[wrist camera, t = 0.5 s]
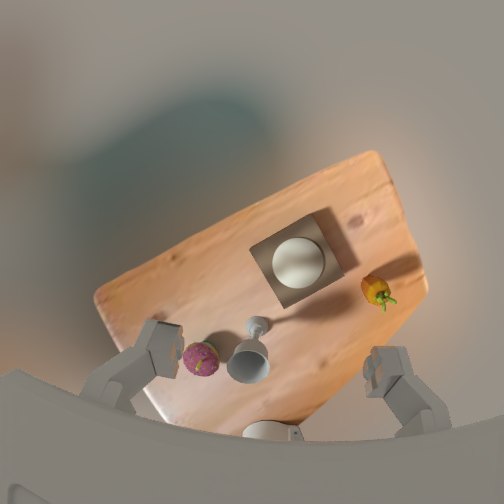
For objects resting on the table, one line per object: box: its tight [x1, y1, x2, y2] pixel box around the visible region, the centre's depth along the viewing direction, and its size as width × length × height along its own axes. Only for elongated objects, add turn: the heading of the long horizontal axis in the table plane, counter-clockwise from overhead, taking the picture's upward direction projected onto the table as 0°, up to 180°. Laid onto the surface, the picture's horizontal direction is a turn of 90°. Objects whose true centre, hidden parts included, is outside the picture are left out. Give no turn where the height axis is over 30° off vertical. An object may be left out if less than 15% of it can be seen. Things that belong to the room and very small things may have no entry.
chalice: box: [227, 316, 270, 384], centre depth 56 cm, size 7×7×18 cm
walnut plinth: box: [249, 214, 345, 309], centre depth 59 cm, size 14×14×4 cm
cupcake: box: [183, 342, 220, 376], centre depth 61 cm, size 9×8×12 cm
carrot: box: [361, 275, 397, 312], centre depth 53 cm, size 5×5×15 cm
